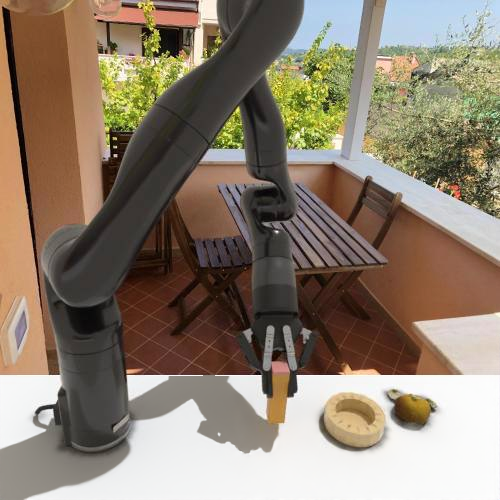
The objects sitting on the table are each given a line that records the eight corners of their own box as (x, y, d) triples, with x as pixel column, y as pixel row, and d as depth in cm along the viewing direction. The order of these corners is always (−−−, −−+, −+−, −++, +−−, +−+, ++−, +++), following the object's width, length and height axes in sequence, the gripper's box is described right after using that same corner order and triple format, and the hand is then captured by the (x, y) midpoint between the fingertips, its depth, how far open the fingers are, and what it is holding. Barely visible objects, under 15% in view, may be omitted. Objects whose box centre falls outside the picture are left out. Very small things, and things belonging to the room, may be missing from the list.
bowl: (333, 448, 66) (334, 435, 65) (317, 405, 75) (319, 393, 74) (392, 445, 67) (395, 433, 66) (370, 403, 76) (372, 391, 75)
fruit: (435, 402, 77) (439, 385, 76) (437, 434, 70) (441, 417, 68) (387, 389, 80) (391, 373, 78) (384, 420, 72) (387, 402, 71)
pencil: (268, 423, 68) (273, 372, 64) (266, 412, 70) (270, 361, 66) (284, 423, 68) (290, 371, 64) (281, 411, 70) (287, 361, 67)
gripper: (234, 281, 68) (236, 396, 61) (320, 281, 69) (332, 394, 62) (231, 296, 74) (232, 400, 67) (309, 296, 76) (318, 398, 69)
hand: (280, 397), depth 65 cm, fingers closed on pencil, 2 cm apart
